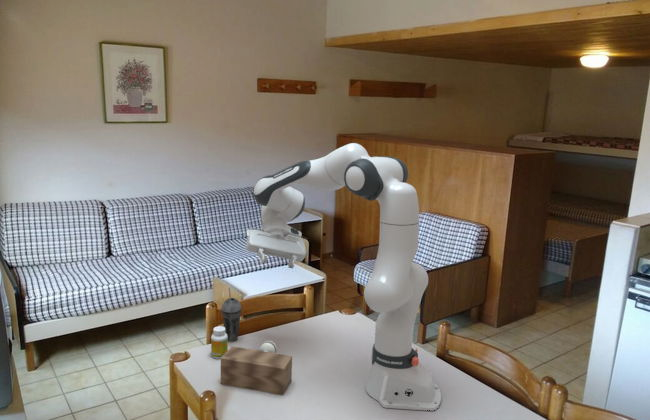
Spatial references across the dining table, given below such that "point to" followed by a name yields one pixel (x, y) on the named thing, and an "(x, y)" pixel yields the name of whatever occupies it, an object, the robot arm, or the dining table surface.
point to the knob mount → (256, 370)
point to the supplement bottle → (219, 342)
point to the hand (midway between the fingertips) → (277, 264)
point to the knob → (268, 347)
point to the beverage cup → (231, 317)
